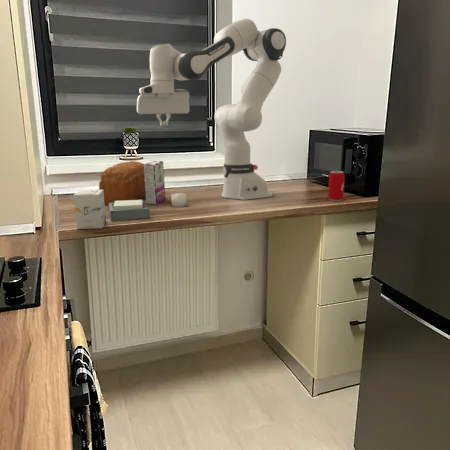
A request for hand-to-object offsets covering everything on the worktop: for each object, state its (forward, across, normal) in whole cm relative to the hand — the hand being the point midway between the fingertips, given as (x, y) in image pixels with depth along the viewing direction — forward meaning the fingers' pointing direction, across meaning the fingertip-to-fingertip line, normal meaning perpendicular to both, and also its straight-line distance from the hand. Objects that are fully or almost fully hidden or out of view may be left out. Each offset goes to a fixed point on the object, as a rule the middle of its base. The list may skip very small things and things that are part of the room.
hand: (164, 126), depth 176 cm
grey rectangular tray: (+31, +16, +14) cm, 38 cm away
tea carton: (+31, +17, +15) cm, 38 cm away
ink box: (+31, +30, +25) cm, 50 cm away
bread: (+32, +15, -15) cm, 38 cm away
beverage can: (+31, -68, +16) cm, 76 cm away
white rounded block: (+31, -4, +4) cm, 32 cm away
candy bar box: (+31, +4, -6) cm, 32 cm away
